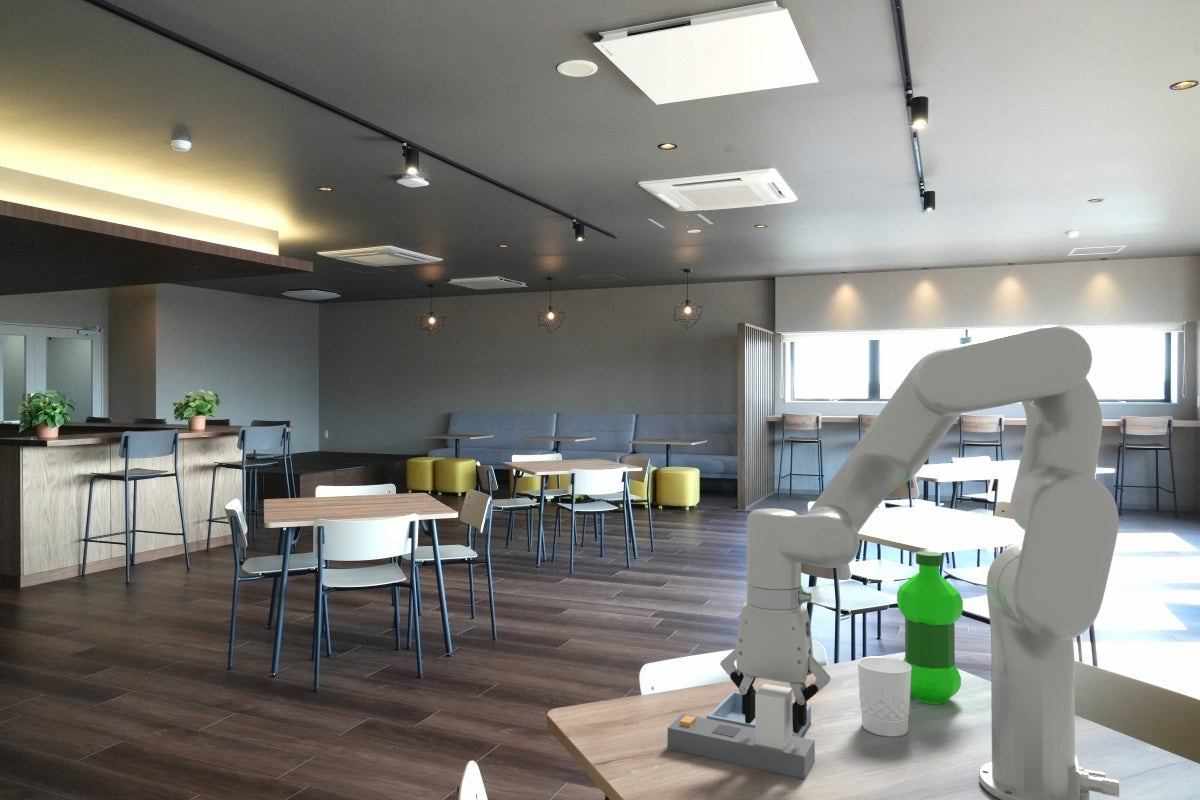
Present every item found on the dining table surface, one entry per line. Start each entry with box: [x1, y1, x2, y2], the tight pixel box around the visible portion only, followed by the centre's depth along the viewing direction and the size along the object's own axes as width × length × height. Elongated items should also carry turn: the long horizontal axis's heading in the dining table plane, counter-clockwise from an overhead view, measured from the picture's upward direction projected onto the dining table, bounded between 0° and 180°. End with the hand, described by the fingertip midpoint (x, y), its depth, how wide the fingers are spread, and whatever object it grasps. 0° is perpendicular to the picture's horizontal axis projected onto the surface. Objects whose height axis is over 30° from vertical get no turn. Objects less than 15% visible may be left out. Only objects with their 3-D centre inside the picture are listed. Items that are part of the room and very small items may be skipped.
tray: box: [706, 690, 812, 738], centre depth 120 cm, size 13×12×3 cm
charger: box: [755, 683, 793, 750], centre depth 109 cm, size 4×5×9 cm
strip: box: [667, 713, 816, 780], centre depth 111 cm, size 20×6×4 cm, turn 62°
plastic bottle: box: [896, 550, 964, 705], centre depth 134 cm, size 10×10×25 cm
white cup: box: [857, 655, 912, 738], centre depth 121 cm, size 8×8×10 cm
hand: (773, 723), depth 109 cm, fingers open, 6 cm apart
